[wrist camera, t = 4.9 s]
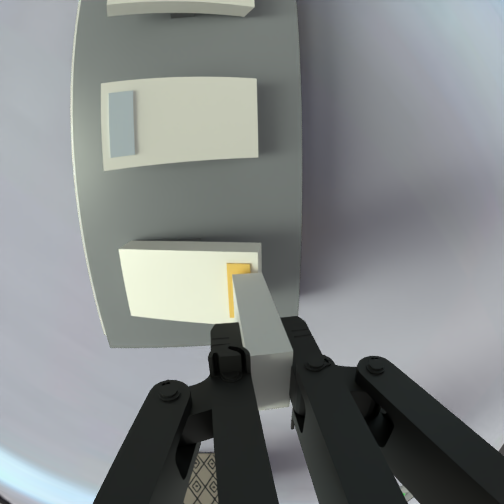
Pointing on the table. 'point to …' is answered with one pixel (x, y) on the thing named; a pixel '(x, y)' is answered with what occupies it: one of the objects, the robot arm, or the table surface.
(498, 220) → the table surface
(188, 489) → the lamp
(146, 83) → the rocker
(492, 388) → the table surface
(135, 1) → the rocker
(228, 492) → the robot arm
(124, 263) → the rocker
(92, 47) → the switch unit
